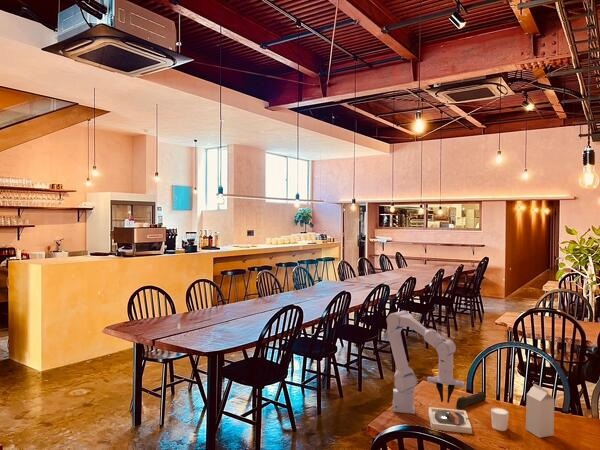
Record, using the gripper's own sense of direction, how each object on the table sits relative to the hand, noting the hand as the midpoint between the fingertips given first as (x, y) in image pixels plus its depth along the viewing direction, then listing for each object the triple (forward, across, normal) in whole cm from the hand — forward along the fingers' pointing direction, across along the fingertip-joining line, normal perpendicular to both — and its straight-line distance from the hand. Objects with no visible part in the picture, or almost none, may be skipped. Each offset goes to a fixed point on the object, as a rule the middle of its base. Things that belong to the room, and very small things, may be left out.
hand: (445, 401), depth 184 cm
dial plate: (+10, +2, +4) cm, 11 cm away
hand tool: (+11, +10, +26) cm, 30 cm away
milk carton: (+11, +36, +9) cm, 39 cm away
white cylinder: (+11, +21, +8) cm, 25 cm away
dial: (+9, +2, +4) cm, 10 cm away
